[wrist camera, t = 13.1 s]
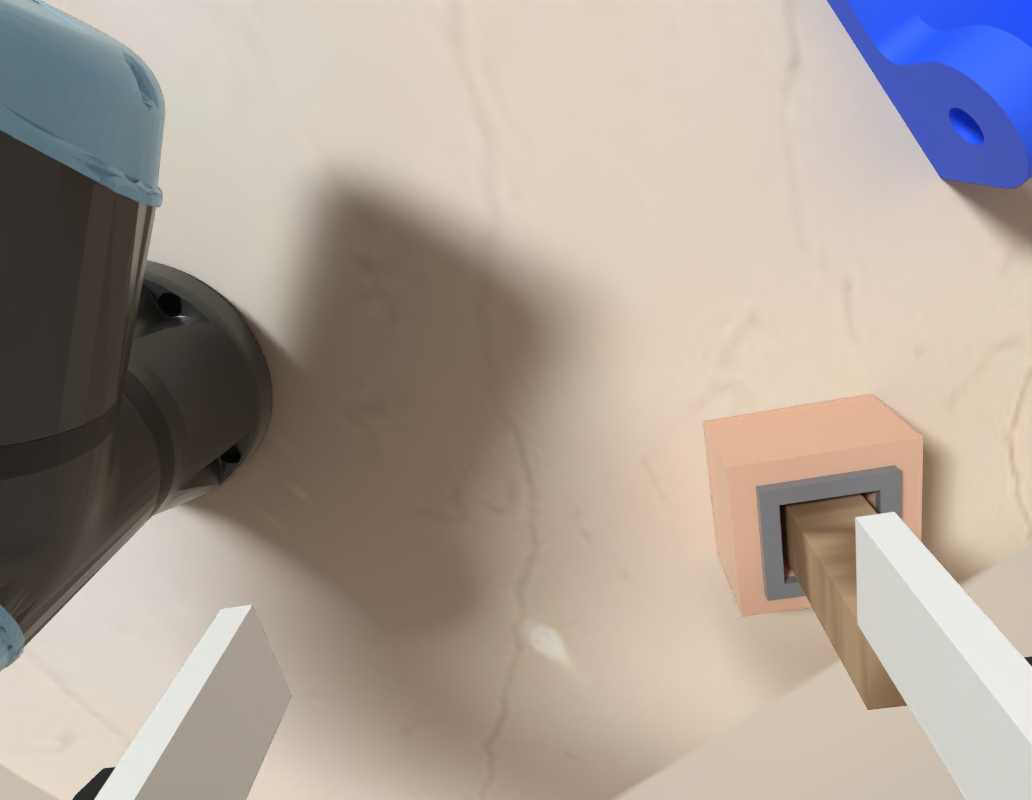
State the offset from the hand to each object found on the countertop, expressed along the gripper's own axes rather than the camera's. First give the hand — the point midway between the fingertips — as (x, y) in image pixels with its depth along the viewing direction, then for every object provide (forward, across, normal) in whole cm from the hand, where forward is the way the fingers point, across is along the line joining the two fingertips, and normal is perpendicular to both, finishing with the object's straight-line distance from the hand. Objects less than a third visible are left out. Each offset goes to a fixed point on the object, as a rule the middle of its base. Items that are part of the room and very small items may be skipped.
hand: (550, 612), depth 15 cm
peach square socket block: (+27, +13, -14) cm, 33 cm away
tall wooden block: (+25, +13, -14) cm, 31 cm away
